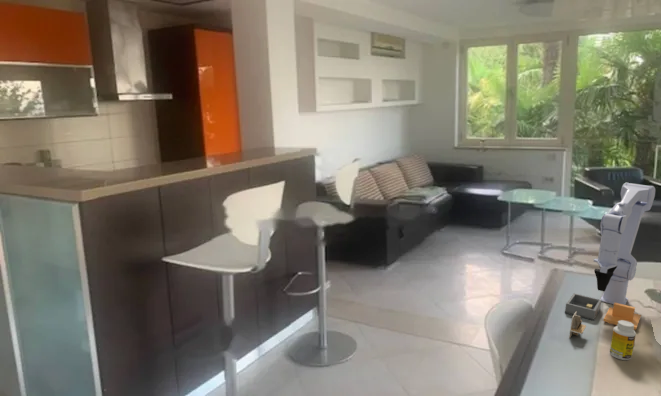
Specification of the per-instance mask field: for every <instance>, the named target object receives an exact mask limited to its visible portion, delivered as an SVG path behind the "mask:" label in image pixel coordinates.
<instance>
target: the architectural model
mask: <svg viewBox="0 0 661 396" xmlns="http://www.w3.org/2000/svg"><path fill="white" fill-rule="evenodd" d="M576 313H577V311H576V312H575V314H574V315H572V316H571V324H570V330H569V335H568V338H569V339H570V338H571V337H572V336H573V335H575V336H579V334H580V335H583V334H584V331H585V329H586V327H587V325H586V324H582V322H583V320H582V317H581V316H577V315H576Z"/></svg>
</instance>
